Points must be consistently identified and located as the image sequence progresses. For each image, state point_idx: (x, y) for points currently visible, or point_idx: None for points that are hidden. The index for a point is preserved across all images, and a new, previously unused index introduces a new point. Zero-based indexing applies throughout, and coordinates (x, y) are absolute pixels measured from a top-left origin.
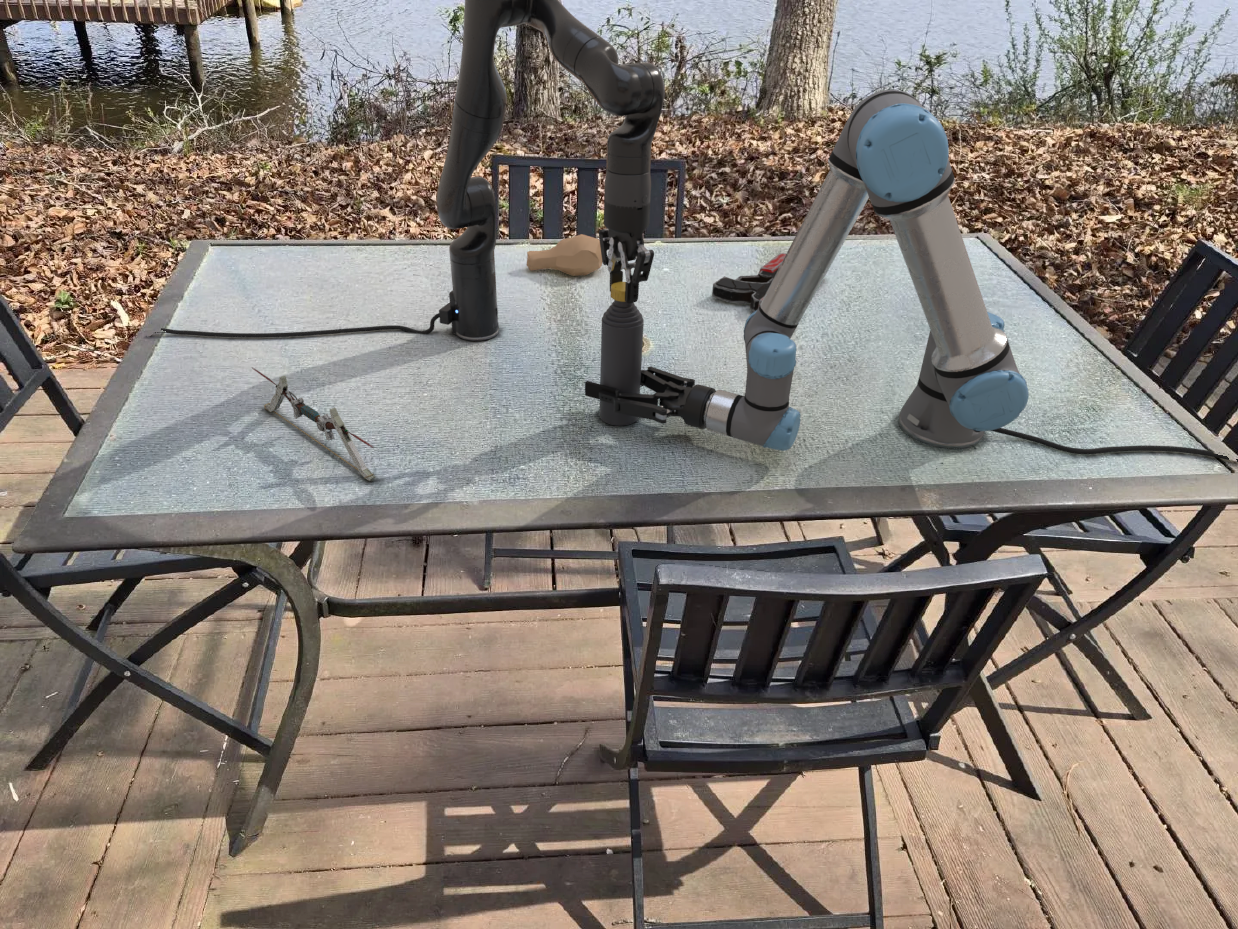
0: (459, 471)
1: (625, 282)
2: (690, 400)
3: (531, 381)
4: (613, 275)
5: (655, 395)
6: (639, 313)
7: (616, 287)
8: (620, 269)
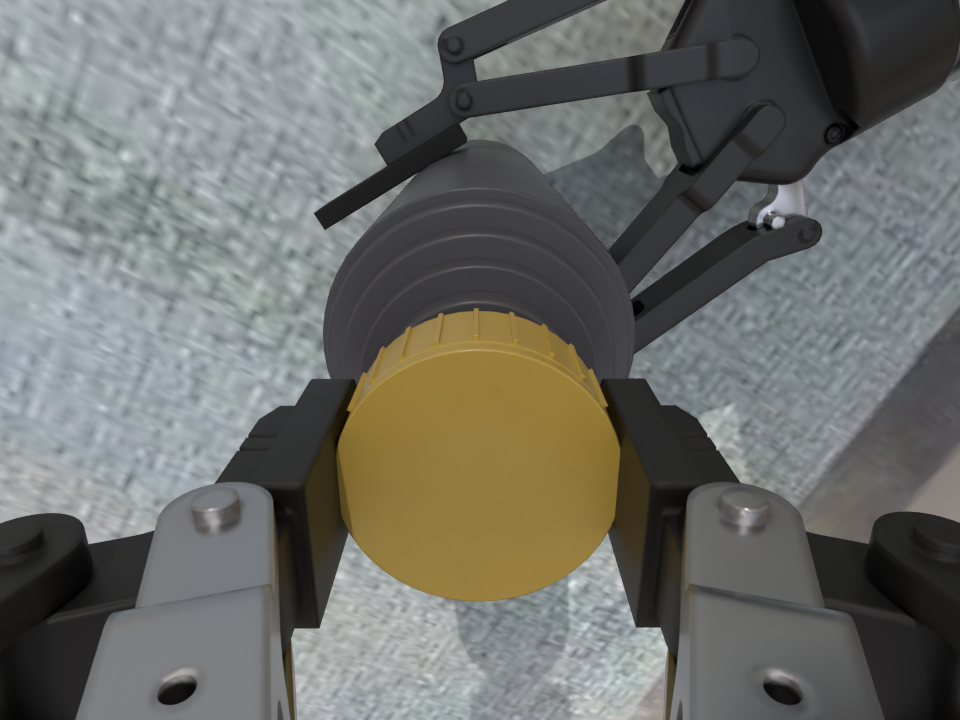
0: (506, 698)
1: (386, 415)
2: (885, 110)
3: (112, 358)
4: (326, 595)
5: (707, 204)
6: (572, 270)
7: (467, 562)
8: (281, 531)
